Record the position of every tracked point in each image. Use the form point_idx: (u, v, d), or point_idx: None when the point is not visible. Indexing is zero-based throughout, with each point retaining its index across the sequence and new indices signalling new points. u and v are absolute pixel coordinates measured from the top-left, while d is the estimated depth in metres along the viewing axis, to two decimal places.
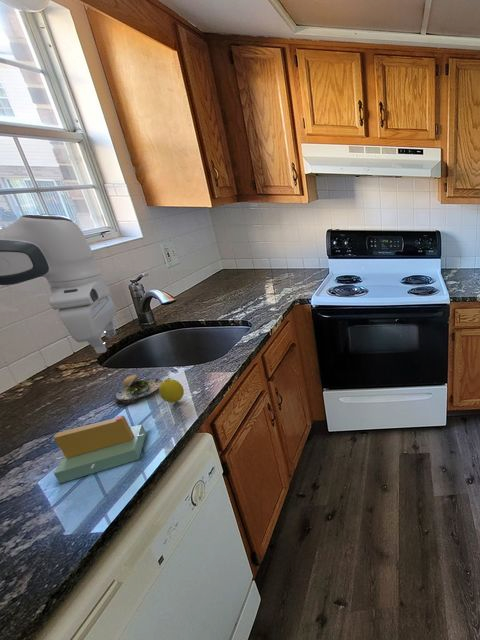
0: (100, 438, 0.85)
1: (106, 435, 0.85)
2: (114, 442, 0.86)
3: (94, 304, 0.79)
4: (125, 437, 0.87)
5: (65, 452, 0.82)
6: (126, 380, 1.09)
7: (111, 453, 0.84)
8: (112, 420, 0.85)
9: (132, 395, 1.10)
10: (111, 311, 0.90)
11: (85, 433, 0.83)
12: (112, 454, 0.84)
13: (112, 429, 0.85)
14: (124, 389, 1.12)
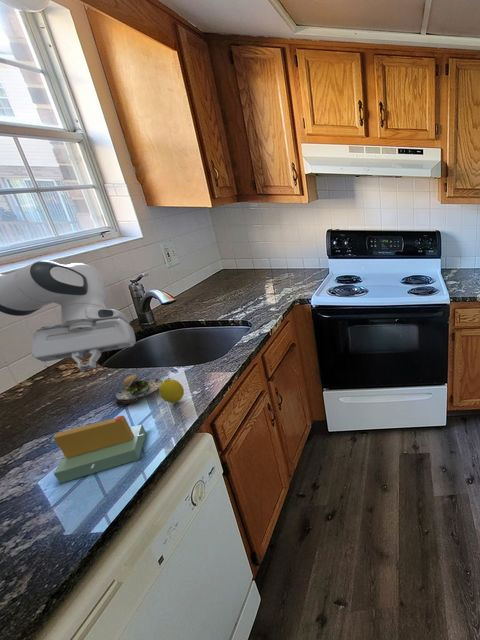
0: (100, 438, 0.85)
1: (106, 435, 0.85)
2: (114, 442, 0.86)
3: None
4: (125, 437, 0.87)
5: (65, 452, 0.82)
6: (126, 380, 1.09)
7: (111, 453, 0.84)
8: (112, 420, 0.85)
9: (132, 395, 1.10)
10: None
11: (85, 433, 0.83)
12: (112, 454, 0.84)
13: (112, 429, 0.85)
14: (124, 389, 1.12)
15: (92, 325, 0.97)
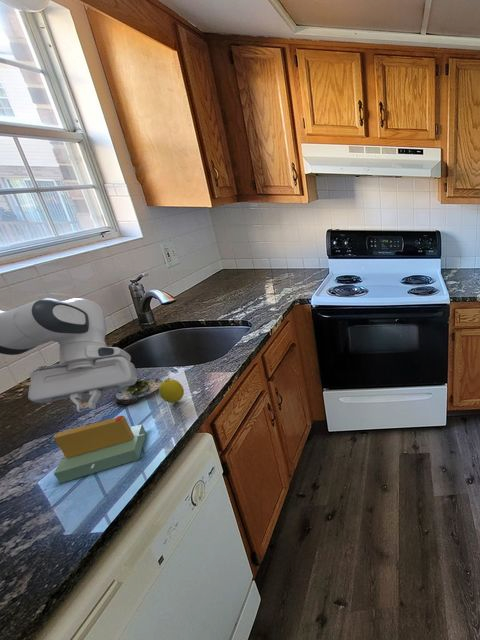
0: (100, 438, 0.85)
1: (106, 435, 0.85)
2: (114, 442, 0.86)
3: None
4: (125, 437, 0.87)
5: (65, 452, 0.82)
6: None
7: (111, 453, 0.84)
8: (112, 420, 0.85)
9: (132, 395, 1.10)
10: None
11: (85, 433, 0.83)
12: (112, 454, 0.84)
13: (112, 429, 0.85)
14: (124, 389, 1.12)
15: (92, 364, 0.93)
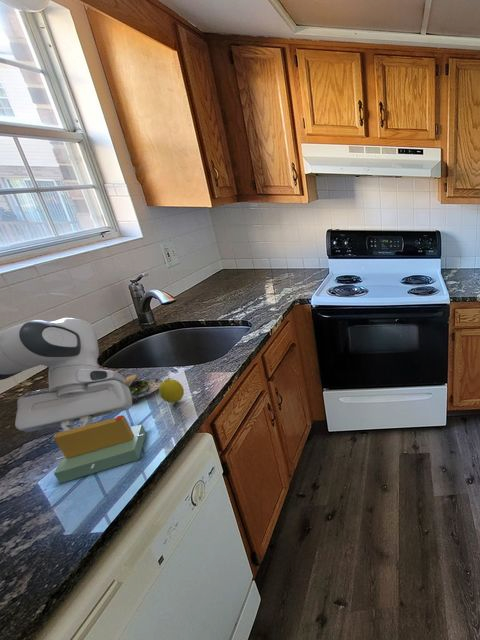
0: (100, 438, 0.85)
1: (106, 435, 0.85)
2: (114, 442, 0.86)
3: None
4: (125, 437, 0.87)
5: (65, 452, 0.82)
6: (126, 380, 1.09)
7: (111, 453, 0.84)
8: (112, 420, 0.85)
9: (132, 395, 1.10)
10: None
11: (85, 433, 0.83)
12: (112, 454, 0.84)
13: (112, 429, 0.85)
14: None
15: (84, 388, 0.87)
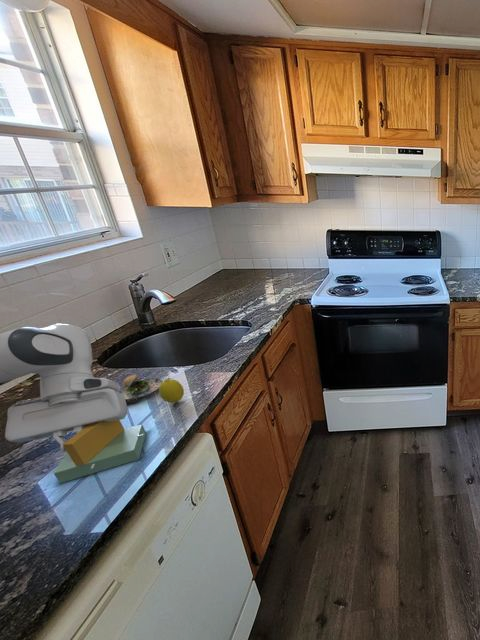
0: (104, 434, 0.86)
1: (107, 429, 0.87)
2: (113, 436, 0.89)
3: None
4: (119, 428, 0.90)
5: (83, 457, 0.81)
6: (126, 380, 1.09)
7: (111, 453, 0.84)
8: None
9: (132, 395, 1.10)
10: None
11: (93, 432, 0.83)
12: (112, 454, 0.84)
13: (110, 422, 0.88)
14: (124, 389, 1.12)
15: (77, 397, 0.84)
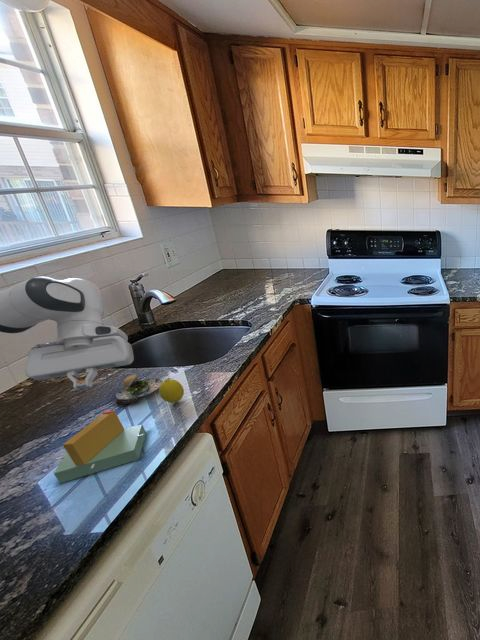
0: (104, 434, 0.86)
1: (107, 429, 0.87)
2: (113, 436, 0.89)
3: None
4: (119, 428, 0.90)
5: (83, 457, 0.81)
6: (126, 380, 1.09)
7: (111, 453, 0.84)
8: (104, 415, 0.87)
9: (132, 395, 1.10)
10: None
11: (93, 432, 0.83)
12: (112, 454, 0.84)
13: (110, 422, 0.88)
14: (124, 389, 1.12)
15: (89, 342, 0.93)
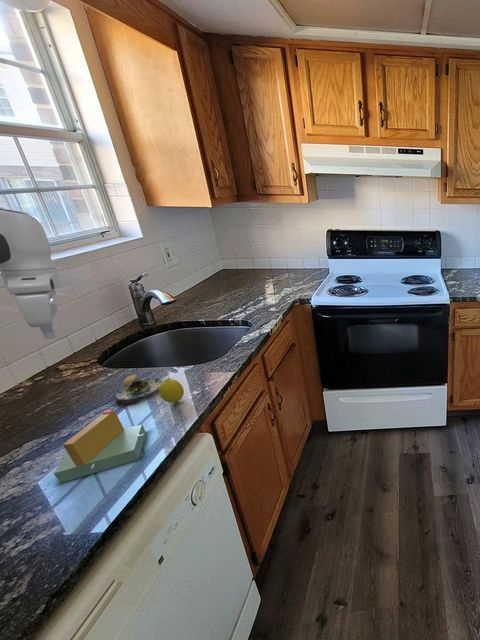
0: (104, 434, 0.86)
1: (107, 429, 0.87)
2: (113, 436, 0.89)
3: (51, 293, 0.84)
4: (119, 428, 0.90)
5: (83, 457, 0.81)
6: (126, 380, 1.09)
7: (111, 453, 0.84)
8: (104, 415, 0.87)
9: (132, 395, 1.10)
10: (55, 308, 0.93)
11: (93, 432, 0.83)
12: (112, 454, 0.84)
13: (110, 422, 0.88)
14: (124, 389, 1.12)
15: None
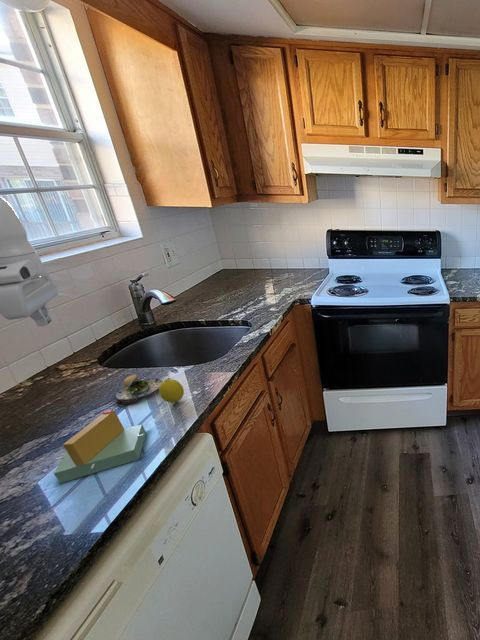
0: (104, 434, 0.86)
1: (107, 429, 0.87)
2: (113, 436, 0.89)
3: (25, 282, 0.79)
4: (119, 428, 0.90)
5: (83, 457, 0.81)
6: (126, 380, 1.09)
7: (111, 453, 0.84)
8: (104, 415, 0.87)
9: (132, 395, 1.10)
10: (50, 292, 0.90)
11: (93, 432, 0.83)
12: (112, 454, 0.84)
13: (110, 422, 0.88)
14: (124, 389, 1.12)
15: None
